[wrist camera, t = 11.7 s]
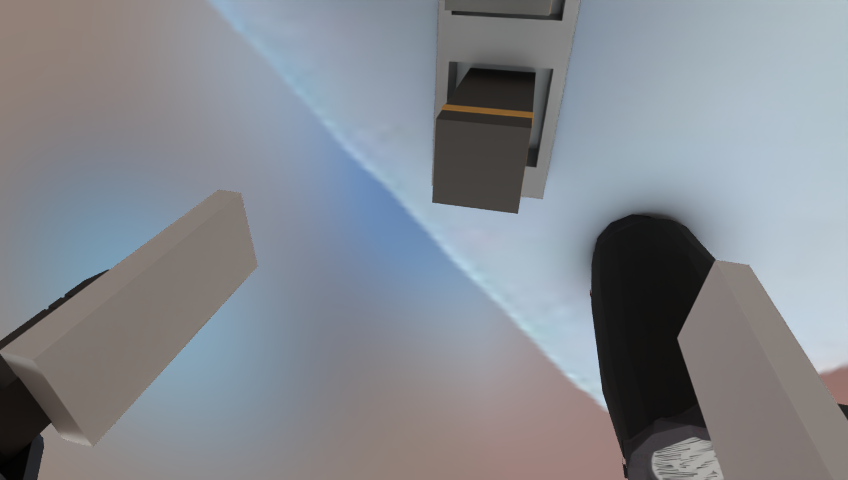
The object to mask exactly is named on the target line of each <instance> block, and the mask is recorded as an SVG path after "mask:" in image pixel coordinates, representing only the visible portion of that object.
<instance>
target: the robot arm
mask: <svg viewBox="0 0 848 480" xmlns="http://www.w3.org/2000/svg"><path fill="white" fill-rule="evenodd" d="M257 266H258V265H257V260H256V256H255V252H254V247H253V243H252V238H251V234H250V230H249V225H248V221H247V217H246V212H245V208H244V204H243V199H242V195H241V193H237V192H231V191H223V190H217V191H216V192H215V193H213V194H212V195H211V196H209V197H208V198H207V199H205V200H204V201H203V202H201V203H200V204H199V205H197V206H196V207H194V208H193V209H192V210H190V211H189V212H188V213H186V214H185V215H184V216H182V217H181V218H179V219H178V220H177V221H175V222H174V223H173V224H171V225H170V226H169V227H167V228H166V229H164V230H163V231H162V232H160V233H159V234H158V235H156V236H155V237H154V238H152V239H151V240H149V241H148V242H147V243H146V244H144V245H143V246H141V247H140V248H139V249H137V250H136V251H135V252H133V253H132V254H130V255H129V256H128V257H126V258H125V259H124V260H122V261H121V262H120V263H118V264H117V265H115V266H114V267H113V268H111V269H110V270H106V271H104V272H102V273H99V274H97V275H95V276H93V277H91V278H89V279H86V280H84V281H83V282H81V283H80V284H79V285H77V286H76V287H75V288H73V289H72V290H70V291H69V292H68V293H66V294H65V297H64V298H59V299H58V300H57V301H55V302H54V303H52V304H51V305H50V306H49V308H48V309H47V310H46V309H44V310H42V311H41V312H40V313H38V314H37V315H36V316H34V317H33V318H31V319H30V320H29V321H27V322H26V323H25V324H23V325H22V326H20V327H19V328H17V329H16V330H15V331H13V332H12V333H10V334H9V335H8V336H6V337H5V338H4V339H2V340H1V341H0V480H37V478H38V473H39V468H40V463H41V458H42V454H43V449H44V442H43V437H42V436H41V435H40V433H41V432H42V431H43V430H44V429H45V428H46V427H47V426H48V425H49V424H50V423H52V425H53V426H54V427H55V429H56V430H57V431H58V433H59V434H60V435H61V437H62V438H63V439H64V440H68V441H72V442H76V443H79V444H83V445H87V446H90V447H94V446H95V444H96V443H97V442H98V441H99V440H100V439H101V438H102V437H103V436H104V435H105V433H106V432H107V431H108V430H109V429H110V428H111V427H112V426H113V425H114V424H115V423H116V421H117V420H118V419H119V418H120V417H121V416H122V415H123V414H124V413H125V411H126V410H127V409H128V408H129V407H130V406H131V405H132V404H133V403H134V402H135V401H136V399H137V398H138V397H139V396H140V395H141V394H142V393H143V392H144V391H145V390H146V388H147V387H148V386H149V385H150V384H151V383H152V382H153V381H154V380H155V378H156V377H157V376H158V375H159V374H160V373H161V372H162V371H163V370H164V369H165V368H166V366H167V365H168V364H169V363H170V362H171V361H172V360H173V359H174V358H175V357H176V355H177V354H178V353H179V352H180V351H181V350H182V349H183V348H184V347H185V346H186V344H187V343H188V342H189V341H190V340H191V339H192V338H193V337H194V336H195V334H196V333H197V332H198V331H199V330H200V329H201V328H202V327H203V326H204V325H205V323H207V321H208V320H209V319H210V318H211V317H212V316H213V315H214V314H215V313H216V312H217V310H218V309H219V308H220V307H221V306H222V305H223V304H224V303H225V301H227V299H228V298H229V297H230V296H231V295H232V294H233V293H234V292H235V291H236V289H237V288H238V287H239V286H240V285H241V284H242V283H243V282H244V281H245V280H246V278H247V277H248V276H249V275H250V274H251V273H252V272H253V271H254V270H255V269H256V268H257ZM677 339H678V342H679V345H680V348H681V351H682V354H683V357H684V360H685V363H686V366H687V369H688V372H689V375H690V378H691V381H692V384H693V387H694V390H695V393H696V396H697V399H698V402H699V405H700V408H701V411H702V414H703V417H704V420H705V423H706V426H707V429H708V432H709V435H710V438H711V441H712V444H713V447H714V450H715V453H716V456H717V459H718V462H719V465H720V468H721V471H722V475H723V478H724V480H848V405H842V404H837V403H836V401H835V400H834V398H833V396H832V395H831V393H830V392H829V390H828V388H827V387H826V385H825V384H824V382H823V381H822V379H821V377H820V376H819V374H818V373H817V371H816V370H815V368H814V366H813V365H812V363H811V362H810V360H809V359H808V357H807V355H806V354H805V352H804V351H803V349H802V348H801V346H800V344H799V343H798V341H797V340H796V338H795V337H794V335H793V333H792V332H791V330H790V329H789V327H788V326H787V324H786V322H785V321H784V319H783V318H782V316H781V314H780V313H779V311H778V310H777V308H776V307H775V305H774V303H773V302H772V300H771V299H770V297H769V296H768V294H767V292H766V291H765V289H764V288H763V286H762V285H761V283H760V281H759V280H758V278H757V277H756V275H755V274H754V272H753V270H752V269H751V267H750V266H749V265H746V264H739V263H732V262H725V261H718V260H715V262H714V264H713V266H712V268H711V270H710V272H709V274H708V276H707V278H706V280H705V282H704V284H703V286H702V288H701V290H700V292H699V295H698V297H697V299H696V301H695V303H694V305H693V307H692V309H691V311H690V313H689V315H688V317H687V319H686V321H685V323H684V325H683V327H682V330H681V332H680V334H679V336H678V338H677Z"/></svg>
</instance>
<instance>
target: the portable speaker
mask: <svg viewBox="0 0 848 480" xmlns="http://www.w3.org/2000/svg"><path fill="white" fill-rule="evenodd" d="M714 262H715V258H714V257H713V256H712V255H711V254H710V253H709V252H708V251H707V250H706V248H705V247H704V246H703V245H702V244H701V243H700V242H699V241H698V239H697V238H696V237H695V236H694V235H693V234H692V233H691V232H690V231H689V229H688V228H687V227H685V226H683V225H681V224H679V223H677V222H675V221H671V220H665V219H659V218H652V217H646V216H640V215H630V216H628V217H625V218H623V219H621V220H618V221H616V222H613V223H611V224H610V225H609V226H608V227H607V228H606V230H605V231H604V232H603V233H602V234H601V235H600V236H599V237H598V239H597V243H596V248H595V251H594V253H593V259H592V276H591V290H590V296H591V306H592V314H593V322H594V330H595V337H596V345H597V353H598V360H599V368H600V376H601V383H602V391H603V395H604V398H605V401H606V404H607V407H608V410H609V414H610V417H611V420H612V423H613V426H614V429H615V432H616V436H617V439H618V442H619V445H620V448H621V451H622V454H623V457H624V458H625V460H626V465H625V464H623V469H624V475H625V478H627V477H628V480H724V478H723V475H722V471H721V468H720V465H719V462H718V459H717V456H716V453H715V450H714V447H713V444H712V441H711V438H710V435H709V432H708V429H707V426H706V423H705V420H704V417H703V414H702V411H701V408H700V405H699V402H698V399H697V396H696V393H695V390H694V387H693V384H692V381H691V378H690V375H689V372H688V369H687V366H686V363H685V360H684V357H683V354H682V351H681V348H680V345H679V342H678V339H677V338H678V336H679V334H680V332H681V330H682V327H683V325H684V323H685V321H686V319H687V317H688V315H689V313H690V311H691V309H692V307H693V305H694V303H695V301H696V299H697V297H698V295H699V292H700V290H701V288H702V286H703V284H704V282H705V280H706V278H707V276H708V274H709V272H710V270H711V268H712V266H713V264H714ZM626 467H627V468H626Z"/></svg>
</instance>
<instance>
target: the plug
mask: <svg viewBox="0 0 848 480" xmlns="http://www.w3.org/2000/svg"><path fill="white" fill-rule="evenodd" d="M535 77H536V72H523V71H509V70H496V69H483V68H470V69H469V70H468V72H467V73H466V75H465V76H464V78H463V79H462V81H461V82H460V84H459V85H458V87H457V88H456V90H455V91H454V93H453V94H452V96H451V97H450V99H449V100H448V102H447V103H446V104H444V105H443V107H442V108H441V112H440V113H439V115H438V116H437V118H436V125H435V149H434V174H433V198H432V203H440V204H448V205H455V206H463V207H470V208H478V209H486V210H493V211H501V212H508V213H516V214H518V209H519V203H520V198H521V191H522V185H523V179H524V173H525V167H526V161H527V155H528V148H529V142H530V136H531V130H532V124H533V118H534V112H533V103H534V90H535Z"/></svg>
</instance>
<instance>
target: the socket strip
mask: <svg viewBox="0 0 848 480" xmlns="http://www.w3.org/2000/svg"><path fill="white" fill-rule="evenodd" d="M580 2H581V0H439V8H438V34H437V60H436V87H435V113H434V139H433V165H432V186H433V174H434V149H435V125H436V118H437V116H438V115H439V113H440V112H441V108H442V107H443V105H444V104H446V103H447V102H448V100H449V99H450V97H451V96H452V94H453V93H454V91H455V90H456V88H457V87H458V85H459V84H460V82H461V81H462V79H463V78H464V76H465V75H466V73H467V72H468V70H469V69H470V68H483V69H496V70H509V71H523V72H536V77H535V90H534V103H533V112H534V118H533V124H532V130H531V136H530V142H529V148H528V155H527V161H526V167H525V173H524V179H523V185H522V191H521V197H529V198H537V199H543V194H544V189H545V184H546V179H547V174H548V168H549V163H550V158H551V153H552V148H553V142H554V137H555V132H556V127H557V122H558V116H559V111H560V106H561V101H562V96H563V90H564V85H565V80H566V75H567V70H568V64H569V59H570V54H571V49H572V44H573V38H574V33H575V28H576V23H577V18H578V12H579V7H580Z"/></svg>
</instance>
